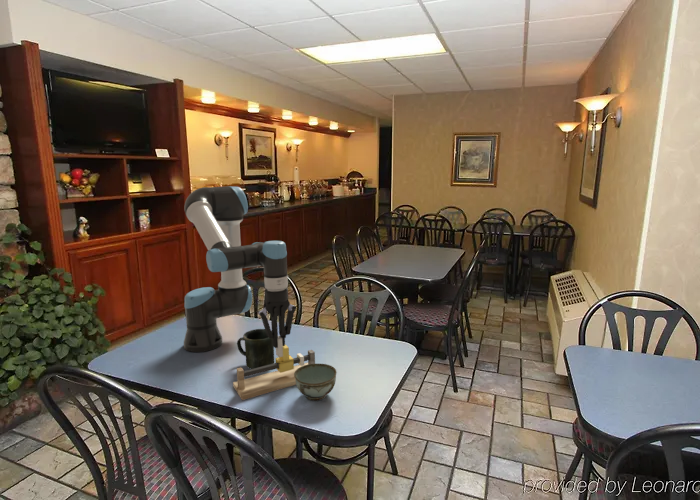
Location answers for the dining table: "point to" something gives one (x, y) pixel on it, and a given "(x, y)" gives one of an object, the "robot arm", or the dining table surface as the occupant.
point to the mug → (257, 348)
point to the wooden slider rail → (267, 381)
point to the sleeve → (285, 361)
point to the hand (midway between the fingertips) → (279, 355)
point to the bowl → (315, 380)
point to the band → (301, 359)
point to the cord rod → (270, 367)
